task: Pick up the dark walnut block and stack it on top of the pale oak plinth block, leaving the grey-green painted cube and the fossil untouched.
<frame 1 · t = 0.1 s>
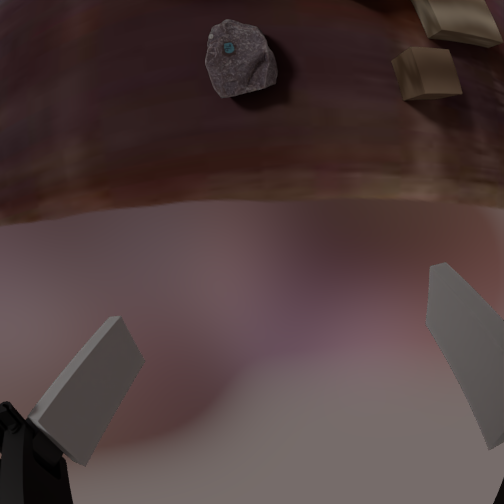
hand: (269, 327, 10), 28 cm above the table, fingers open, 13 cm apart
plinth: (444, 7, 21), on the table
walnut block: (415, 79, 27), on the table
rock: (243, 63, 30), on the table
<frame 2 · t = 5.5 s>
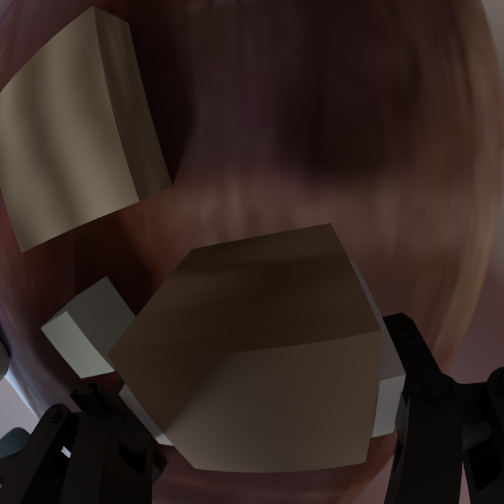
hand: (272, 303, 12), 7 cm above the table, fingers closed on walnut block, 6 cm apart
plinth: (80, 134, 18), on the table
walnut block: (273, 298, 13), point 7 cm above the table, touching gripper
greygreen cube: (107, 311, 24), on the table
when the fingers open (5 cm above the table, at t = 10.1 s): walnut block stays where it is, resting on plinth.
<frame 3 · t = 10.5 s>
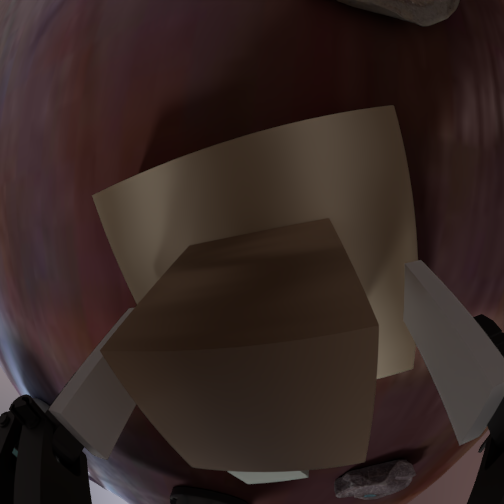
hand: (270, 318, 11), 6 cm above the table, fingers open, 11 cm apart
plinth: (276, 255, 17), on the table, touching walnut block
walnut block: (271, 294, 12), point 5 cm above the table, touching plinth
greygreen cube: (267, 418, 23), on the table
rock: (375, 468, 27), on the table
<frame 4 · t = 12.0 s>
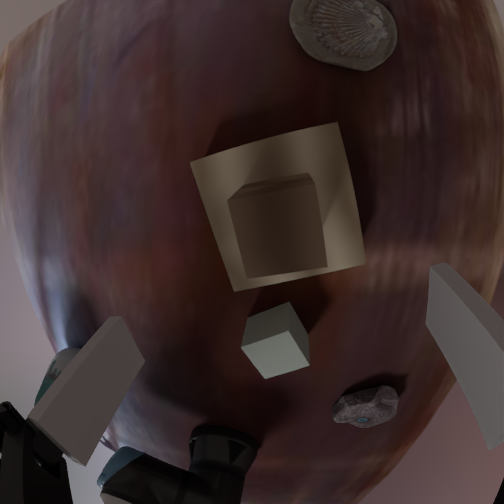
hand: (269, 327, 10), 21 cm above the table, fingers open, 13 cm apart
fossil: (342, 32, 22), on the table
plinth: (283, 201, 30), on the table, touching walnut block
vase: (88, 360, 47), on the table
walnut block: (282, 210, 26), point 4 cm above the table, touching plinth
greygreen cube: (278, 326, 36), on the table
rock: (365, 397, 41), on the table
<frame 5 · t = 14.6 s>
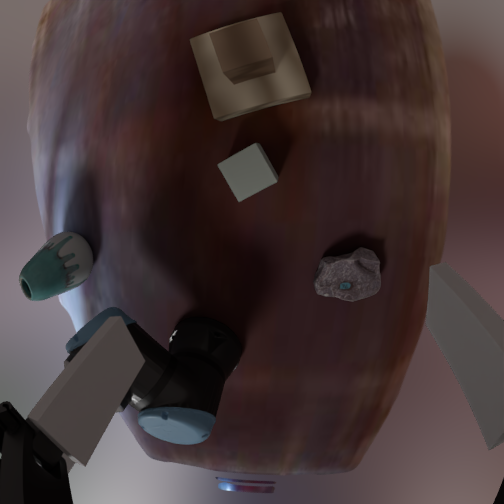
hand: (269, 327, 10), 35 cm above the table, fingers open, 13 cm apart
plinth: (252, 69, 36), on the table, touching walnut block
vase: (80, 251, 52), on the table
walnut block: (248, 60, 32), point 4 cm above the table, touching plinth
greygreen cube: (252, 169, 42), on the table
rock: (346, 268, 47), on the table
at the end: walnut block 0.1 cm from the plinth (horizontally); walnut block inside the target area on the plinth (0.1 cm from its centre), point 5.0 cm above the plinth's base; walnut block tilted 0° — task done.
